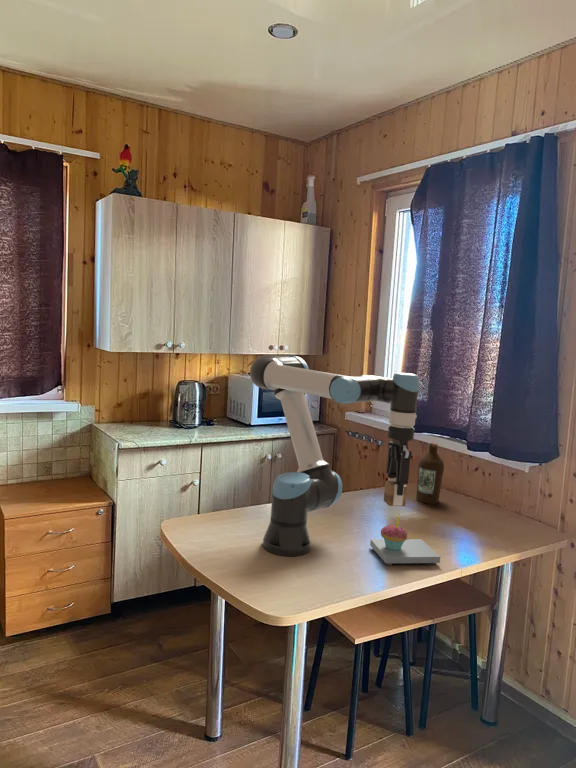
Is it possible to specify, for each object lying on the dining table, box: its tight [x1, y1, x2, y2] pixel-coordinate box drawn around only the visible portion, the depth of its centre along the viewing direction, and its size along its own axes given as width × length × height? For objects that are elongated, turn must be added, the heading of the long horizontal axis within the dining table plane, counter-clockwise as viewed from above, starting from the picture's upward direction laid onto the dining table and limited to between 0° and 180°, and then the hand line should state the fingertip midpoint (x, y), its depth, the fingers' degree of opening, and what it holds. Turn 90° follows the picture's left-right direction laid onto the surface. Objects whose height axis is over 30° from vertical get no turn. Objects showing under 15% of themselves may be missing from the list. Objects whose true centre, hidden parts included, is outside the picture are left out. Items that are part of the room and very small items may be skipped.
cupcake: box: [380, 513, 408, 551], centre depth 186 cm, size 9×8×12 cm
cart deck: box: [369, 538, 441, 567], centre depth 187 cm, size 18×14×3 cm
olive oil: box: [415, 442, 445, 505], centre depth 249 cm, size 11×11×25 cm
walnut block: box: [383, 480, 408, 507], centre depth 174 cm, size 5×5×6 cm
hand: (394, 502), depth 174 cm, fingers closed on walnut block, 5 cm apart
